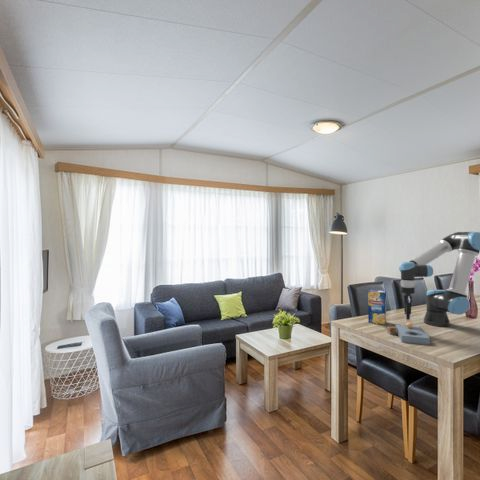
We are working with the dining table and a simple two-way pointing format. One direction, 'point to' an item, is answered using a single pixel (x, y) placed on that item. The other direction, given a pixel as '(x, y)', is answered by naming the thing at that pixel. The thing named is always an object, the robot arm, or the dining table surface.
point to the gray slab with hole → (412, 334)
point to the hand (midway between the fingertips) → (407, 324)
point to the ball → (409, 325)
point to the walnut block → (392, 330)
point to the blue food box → (377, 306)
